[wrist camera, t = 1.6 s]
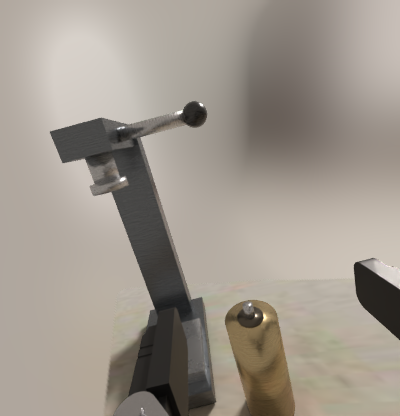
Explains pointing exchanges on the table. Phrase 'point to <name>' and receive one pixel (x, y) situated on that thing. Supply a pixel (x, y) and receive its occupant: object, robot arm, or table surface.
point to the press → (146, 222)
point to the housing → (260, 358)
